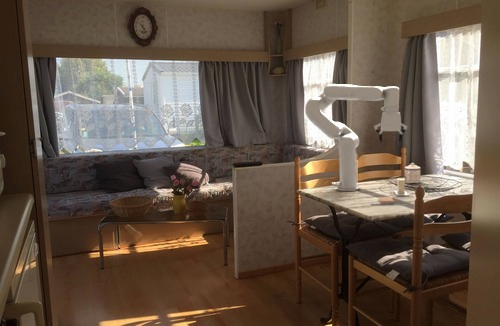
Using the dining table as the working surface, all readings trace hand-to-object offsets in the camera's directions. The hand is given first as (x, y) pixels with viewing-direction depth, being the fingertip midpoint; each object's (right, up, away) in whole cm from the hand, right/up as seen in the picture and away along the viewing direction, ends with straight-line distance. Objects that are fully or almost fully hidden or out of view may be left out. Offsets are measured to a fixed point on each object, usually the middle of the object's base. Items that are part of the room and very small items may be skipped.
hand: (390, 141), depth 234 cm
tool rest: (+3, -29, -7) cm, 30 cm away
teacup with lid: (+20, -24, +23) cm, 39 cm away
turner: (+3, -28, -7) cm, 29 cm away
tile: (-8, -30, -17) cm, 36 cm away
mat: (-9, -32, -20) cm, 39 cm away
